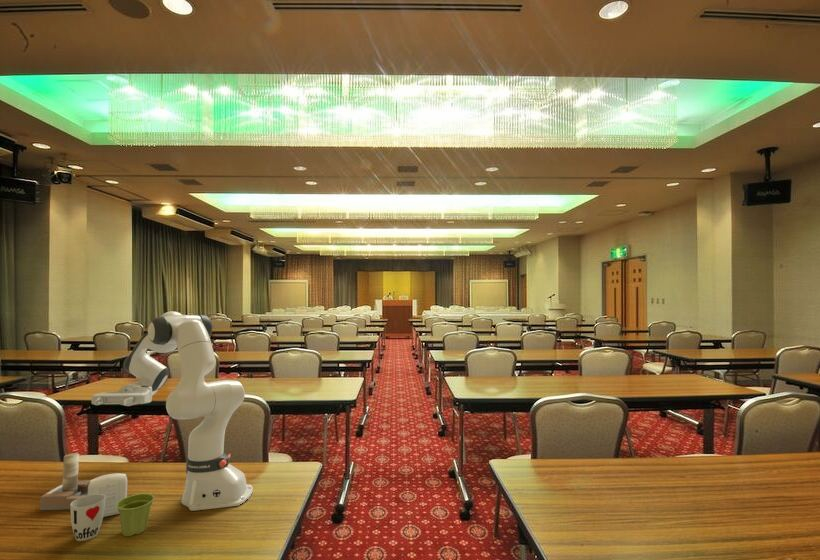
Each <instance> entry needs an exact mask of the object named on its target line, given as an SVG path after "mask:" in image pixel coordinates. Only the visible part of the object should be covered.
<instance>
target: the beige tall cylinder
mask: <svg viewBox="0 0 820 560" xmlns="http://www.w3.org/2000/svg"><path fill="white" fill-rule="evenodd" d="M79 459H80V454H79V453H77V452H72V453H69V454H65V455H64V456H63V466H62V468H63V469H62V470H63V471H62V484H63V490H62V492H68V491H74V494H73V495H72V496H81V490H78V480H79V466H80V465H79V463H80V462H79V461H80V460H79Z"/></svg>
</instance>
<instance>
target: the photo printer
mask: <svg viewBox="0 0 820 560" xmlns="http://www.w3.org/2000/svg"><path fill="white" fill-rule="evenodd" d="M89 480H90V484H89V486H88V495H93V494H103V495H105V496H106V499H105V508H104V515H103V518H105V517H110V516H115V515H120V513H119V511H118V508H117V507H116V505H117V503H118V502H119V501H120V500H122V499H124V498H126V497H128V477H127V474H126V473H121V472H120V473H119V472H117V473H108V474H104V475H100V476H97V477H95V478H92V479H89Z"/></svg>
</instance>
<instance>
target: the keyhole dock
mask: <svg viewBox="0 0 820 560" xmlns="http://www.w3.org/2000/svg"><path fill="white" fill-rule="evenodd" d="M90 480H91V479H84V480H83V479H82V480H79V479H78V490H81V496H72V495H73V494H74V491H68V492H62V490H63V483H61V484H60V485H58V486H57V487H55V488H53V489H51V490H50V491H48V492H46V493H44V494H43V495H42V496H40V499H39V500H40V503H39V504H40V505H39V511H56V510H57V511H58V510H60V511H62V510H71V509H70V504H71V503H72V502H73V501H74V500H76V499H78V498H81V497H84V496H88V486H89V484H90Z"/></svg>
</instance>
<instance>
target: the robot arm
mask: <svg viewBox="0 0 820 560" xmlns="http://www.w3.org/2000/svg"><path fill="white" fill-rule="evenodd" d="M212 332H213V323H212V320H211V318H210V317H209V316H207V315H205V314H182V313H180V312H179V311H175V310H174V311H172V310H170V311H167V312H165V313H163V314H162V315H161V316H158V317H155V318H152V320H151V321H150V322H149V323H148V327H147V332H146V333H144V334H143V335H142V336H141V337H140V338H139V340H138V341H137V342H136V344H135V346H134V348H133V349H132V350H131V352H130V353H129V354H128V355H127V357H126V358H125V359H124V360H123V365H122V366H123V370H124V371H125V372H127V373H129V374H131V375H133V376H134V377H136V378H137V379H139V380H137V381H134V382H130V383H128V384H125V385H123V386H121V387H120V388H119V390H117V391H103V392H99V393H95V394H93V395H91V405H94V406H101V405H120V406H125V407H131V406H137V405H143V404H150V403H151V402H153V401H152V399H153V396H154V395H155V394H156V393H157V392H158V391H159V390H160V389H161V388H162V387H163V386H164V385H165V384H166V382H167V381H168V379H169V376H170V375H169V374H170V372H169V368H168V367H167V366H165V365H164V364H162V363H161V362H160V361H158V360H156V359H155V358H154V357H152V356H150V355H149V354H148V353H147V351H148V350H151V351H153V352H156V353H159V354H167V353H171V352H173V351H175V350H176V349H177V352H178V357H179V361H180V368H181V372H180V373H181V375H180V380H179V382H178V384H177V385H176V386H175V388H174V389H173V390H171V392H170V393H169V394H168V397H167V398H166V401H165V408H166V412H167V414H168V415H169V417H171V418H172V419H174V420H191V419H192V420H193V419H196V418H202V417H204V418H203V420H202V421H201V422H200V423H199V424H198V425H197V426H196V427H195V428H193V429H192V431H191V432H190V433H189V435H188V443H187V444H188V446H187V447H188V448H187V450H188V451H187V452H188V453H187V457H186V464H185V473H186V480H185V485H184V491H183V495H182V498H181V500H180V501H181V504H182V505H183V506H185V507H186V508H188V509H189V511H192V512H193V511H201V510H202V511H203V510H211V509H213V510H214V509H221V508H231V507H238V506H240V504H241V505H242V503H243V504H244V503H246V502H247V501H248V500H249V499H250V498H251V497H252V495H251V494H253V493H252V492H254V488H253V486H252V484H248V483H247V479H246V475H245V473H244V472H243V471H241V470H240V469H238V468H237V467H235V466H234V465H232V463H230V459H231V453H229V454H228V455H227V453H226V452H224V448H225V447H224V446H225V434H226V433H225V432H226V428H227V426H228V424H229V421H230V419H231V417H232V415H233V414H234V412H235V411H236V410H237V409H238V408H239V407H240V406H241V405H242V404H243V402H244V400H245V397H246V395H245V394H246V392H245V388H244V386H243V384H242V383H241V382H240V381H238V380H233V379H222V380H216V381H210V382H209V381H208V382H206V380H205V376H206V375H208V374H209V373H210V372H212V371H213V369H215V367H216V365H217V364H216V363H217V359H216V356H215V352H214V348H213V345H212V341H211V335H212ZM249 497H250V498H249ZM247 499H248V500H247ZM246 500H247V501H246ZM245 501H246V502H245Z"/></svg>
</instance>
